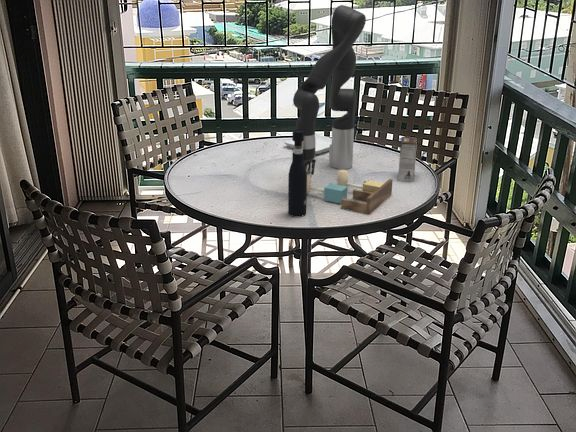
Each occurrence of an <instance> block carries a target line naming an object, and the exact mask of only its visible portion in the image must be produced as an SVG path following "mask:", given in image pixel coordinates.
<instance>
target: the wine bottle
mask: <svg viewBox="0 0 576 432" xmlns="http://www.w3.org/2000/svg"><path fill="white" fill-rule="evenodd" d="M291 140H293V141H294V146H295V147H294V148H292V150H293V151H292V156H291V157H292V159H291V160H292V161H291V164H290V167H289V171H288V180H287V181H288V196H287V197H288V201H287V202H288V204H287V206H288V207H287V210H288V211H287V212H288V213H289V214H290V215H293V216H292V217H294V216H301V217H303V216H302V215H304V216H306V215H307V203H308V202H307V199H308V193H307V171H306V167H305V164H304V161H303V155H304V153H303V151H302V150H303V148H302V141H304V131H303V130H296V129H294V130H292V139H291ZM289 214H288V215H289ZM305 214H306V215H305ZM290 215H289V216H290Z"/></svg>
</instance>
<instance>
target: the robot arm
mask: <svg viewBox="0 0 576 432" xmlns="http://www.w3.org/2000/svg"><path fill="white" fill-rule="evenodd" d="M366 21H367V18H366V15H365V14H364V13H362V12H360V11H358V10H356V9H354V8H352V7H350V6H347V5H343V4H341V5H338V6H336V8H335V9H334V11H333V13H332V16H331V23H330V24H331V27H330V28H331V38H332V40H331V41H332V49H331V50H330V51H328V52H326V53H325V54H323V55H322V56H321V57H319V58H318V60H317V61H316V62H315V64H314V66H313V67H312V69H311V71H310V73H309V75H308V76H307V78H306V79H305V80H304V81H303V82H302V84H300V86H299V87H298V88H297V89H296V91H295V93H294V94H293V99H292V101H293V102H292V103H293V105H294V107H295V108H297V109H299V110H301V114H300V117H297V119H296V122H295V130H303V131H304V141H302V148H303V150H302V151H303V153H304V155H303V161H304V164H305V167H306V171H307V173H309V174H310V180H311V178H312V175H315V174H314V173H315V168H316V162H317V159H315V158H316V154H315V143H316V139H315V134H316V122H317V118H318V116H319V115H318V113H319V109H320V100H319V98H318V97H319V96H318V95H317V94H316V93H317V92H318V91H320V90H324V89H325V87H327V84H328V83H329V81H330V79H331V84H330V91H329V101H328V102H329V107H330V109H331V111H334V112H346V113H345V114H343V115H342V116H340V117H335V118H334V119H333V120H332V125H331V138H332V144H330V150H329V151H328V153H329V156H328V166H329V167H331V168H333V169H338V170H341V169H344V170H349V169H351V168H353V161H354V158H353V156H354V141H355V140H354V138H355V137H354V135H355V114H356V104H357V92H356V90H355V89H354V88H342V87H343V85H345V84H346V83H347V82H349V80H350V79H351V78H352V77H353V76H354V74H355V72H356V66H357V55H356V52H355V50H354V47H353V45H354V44H355V42H356V41H357V40H358V39H359V37H360V36H361V34H362V33H363V31H364V28H365V26H366Z"/></svg>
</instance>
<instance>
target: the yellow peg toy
mask: <svg viewBox="0 0 576 432" xmlns="http://www.w3.org/2000/svg"><path fill="white" fill-rule="evenodd" d="M336 179H337V180H336V183H337V184H336V185H341V186H346V187H347V188H349V187H351V188H355V189H361V190H362V191H366V192H372V193H374V192H375V191H376V190H377V189H378V188H380V187H381V186H382V185H383V184H384V183H385V182H380V181H375V180H370V179H368V180H365V181H366V182H365V183H364V182H363V184H362V185H361V184H355V183H350V182H349V180H348V179H349V169H338V170H337V178H336Z"/></svg>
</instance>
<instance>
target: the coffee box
mask: <svg viewBox="0 0 576 432" xmlns="http://www.w3.org/2000/svg"><path fill="white" fill-rule="evenodd" d="M400 140H401V141H400V148H399V162H398V173H397V174H398V175H397V181H398V182H399V181H400V182H414V181H415V180H414V179H415V178H414V177H415V171H416V158H417V149H418V148H417V146H418V137H415V136H414V137H413V136H401V139H400Z"/></svg>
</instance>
